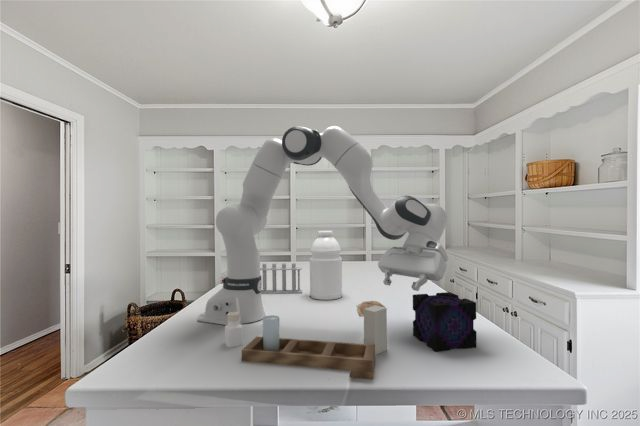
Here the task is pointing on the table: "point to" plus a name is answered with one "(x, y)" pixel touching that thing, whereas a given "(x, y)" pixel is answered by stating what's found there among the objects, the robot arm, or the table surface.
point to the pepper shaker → (233, 330)
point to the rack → (316, 355)
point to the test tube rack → (282, 279)
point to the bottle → (325, 267)
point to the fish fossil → (366, 306)
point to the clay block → (376, 328)
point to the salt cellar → (271, 333)
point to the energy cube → (444, 321)
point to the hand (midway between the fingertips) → (399, 286)
